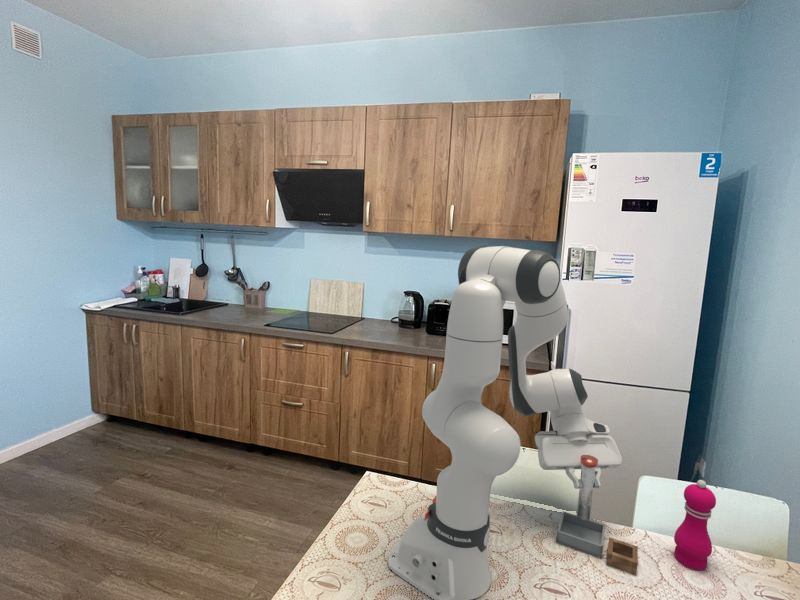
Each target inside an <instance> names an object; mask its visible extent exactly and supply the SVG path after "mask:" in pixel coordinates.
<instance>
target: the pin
mask: <svg viewBox="0 0 800 600" xmlns="http://www.w3.org/2000/svg"><path fill="white" fill-rule="evenodd" d="M580 462H581V463H582V468H581V469H580V478H579V479H581V480H582V484H583V488H580V489H578V491H579V492H578V501H577V509H576V516H578V517H579V518H580V519H582V520H591V514H592V503H593V496H594V488H593V486H594V477H595V467H596V466H597V465H598V459H597V458H595V457H593V456H591V455H582V456H581V459H580Z"/></svg>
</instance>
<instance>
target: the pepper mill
mask: <svg viewBox="0 0 800 600" xmlns="http://www.w3.org/2000/svg"><path fill="white" fill-rule="evenodd" d="M683 498H684V500H685V503H684V508H683V509H684V511H685V517H684V519H683V521H682V522H681V524H680V525H679V526H678V527H677V529H676V530H675V533H674V536H673V541H674V544H675V547H674V551H673V552H674V554H673V555H674V557H675V559H676V560H677V561H678V562H679V563H680V564H681V565H683V566H685V567H687V568H688V569H690V570H691V569H692V570H695V571H704V570H706V569H707V567H708V560H709V559H708V558H709V557H711V555H712V552H713V545H712V541H711V538H710V534H709V532H708V520H709V519H711V518H712V510H713V509H714V508H715V507H716V504H717V498H716V495H715V493H714V492H713V491H712V490H711V489H710V488H708V487H707V482H706V481H705V480H703V479H698V480H697V482H696V483H692V484H689V485H687V486H686V487H685V489H684V491H683Z"/></svg>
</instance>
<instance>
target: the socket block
mask: <svg viewBox="0 0 800 600" xmlns="http://www.w3.org/2000/svg"><path fill="white" fill-rule="evenodd" d="M606 550H607V551H606V562H605V566H608V567H611V568H614V569H617V570H620V571H622V572H625V573H628V574H630V575H634V576H637V571H638V563H639V562H638V561H639V553H638V550H639V546H637V545H634V544H631V543H627V542H626V541H622V540H619V539H616V538H612V537H610V536H609V537H608V544H607V549H606Z"/></svg>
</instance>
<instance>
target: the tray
mask: <svg viewBox="0 0 800 600" xmlns="http://www.w3.org/2000/svg"><path fill="white" fill-rule="evenodd" d="M605 531H606V524H604V523H602V522H597V521H596V520H592V519H589V520H582V519H580V518H579V517H578V516H577V514H574V513H570V512H567V511H564V510H563V511H562V513H561V518H560V521H559V523H558V528H557V531H556V543H557V544H559V545H561V546H565V547H567V548H570V549H573V550H576V551H579V552H582V553H584V554H587V555H590V556H592V557H595V558H599V559H601V560H602V558H603V552H604V541H605V534H606V533H605Z"/></svg>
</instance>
